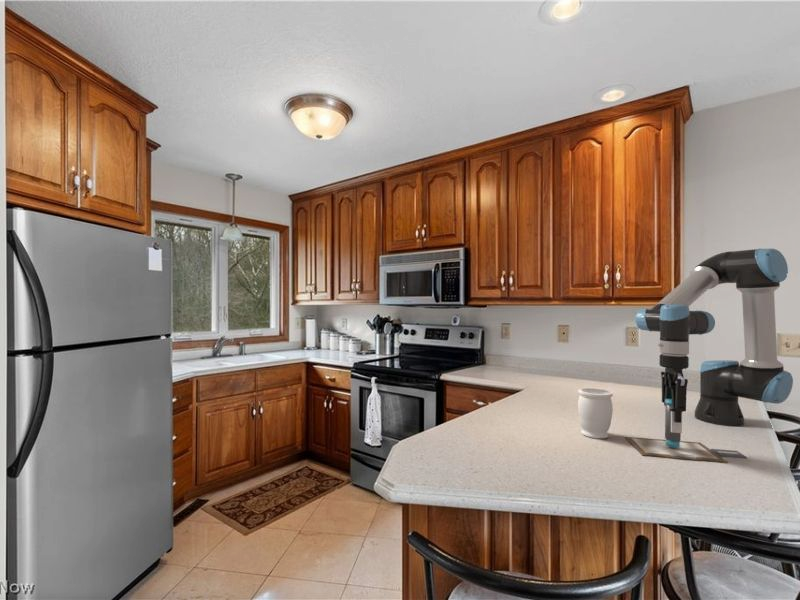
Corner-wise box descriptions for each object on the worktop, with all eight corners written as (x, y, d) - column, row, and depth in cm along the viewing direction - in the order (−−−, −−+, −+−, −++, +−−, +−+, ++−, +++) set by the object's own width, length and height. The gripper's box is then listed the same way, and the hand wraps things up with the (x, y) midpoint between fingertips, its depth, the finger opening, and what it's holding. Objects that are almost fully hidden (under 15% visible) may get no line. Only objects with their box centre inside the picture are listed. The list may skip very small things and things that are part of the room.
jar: (576, 436, 138) (577, 392, 138) (578, 428, 147) (579, 386, 147) (612, 442, 133) (612, 396, 133) (612, 433, 142) (612, 390, 142)
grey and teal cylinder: (677, 443, 129) (677, 399, 129) (683, 448, 125) (683, 402, 125) (662, 442, 130) (662, 398, 130) (667, 447, 126) (668, 401, 126)
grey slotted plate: (737, 452, 126) (737, 450, 126) (746, 458, 121) (746, 456, 121) (710, 450, 127) (710, 448, 127) (719, 456, 122) (719, 454, 122)
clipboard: (700, 443, 133) (700, 441, 133) (728, 463, 117) (728, 460, 117) (625, 437, 138) (625, 435, 138) (642, 455, 122) (642, 453, 122)
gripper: (650, 350, 136) (649, 421, 136) (671, 357, 120) (670, 438, 120) (675, 351, 135) (675, 422, 135) (701, 359, 118) (700, 440, 118)
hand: (673, 429), depth 127 cm, fingers closed on grey and teal cylinder, 4 cm apart
